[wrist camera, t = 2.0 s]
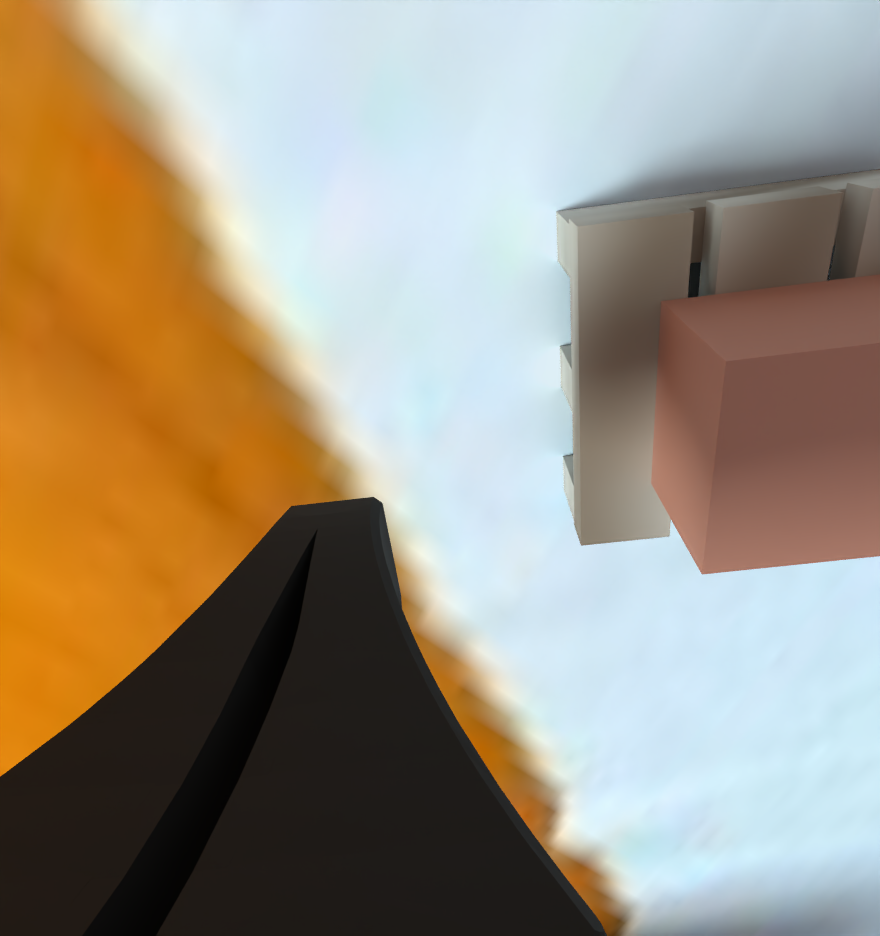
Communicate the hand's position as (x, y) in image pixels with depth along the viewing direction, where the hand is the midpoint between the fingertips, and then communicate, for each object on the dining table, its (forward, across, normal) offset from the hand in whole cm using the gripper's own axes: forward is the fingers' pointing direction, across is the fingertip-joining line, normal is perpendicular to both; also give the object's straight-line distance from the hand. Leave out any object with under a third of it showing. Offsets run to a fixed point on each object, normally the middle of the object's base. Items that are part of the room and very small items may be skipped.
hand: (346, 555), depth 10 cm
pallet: (+6, -8, 0) cm, 10 cm away
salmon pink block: (+4, -8, 0) cm, 9 cm away
